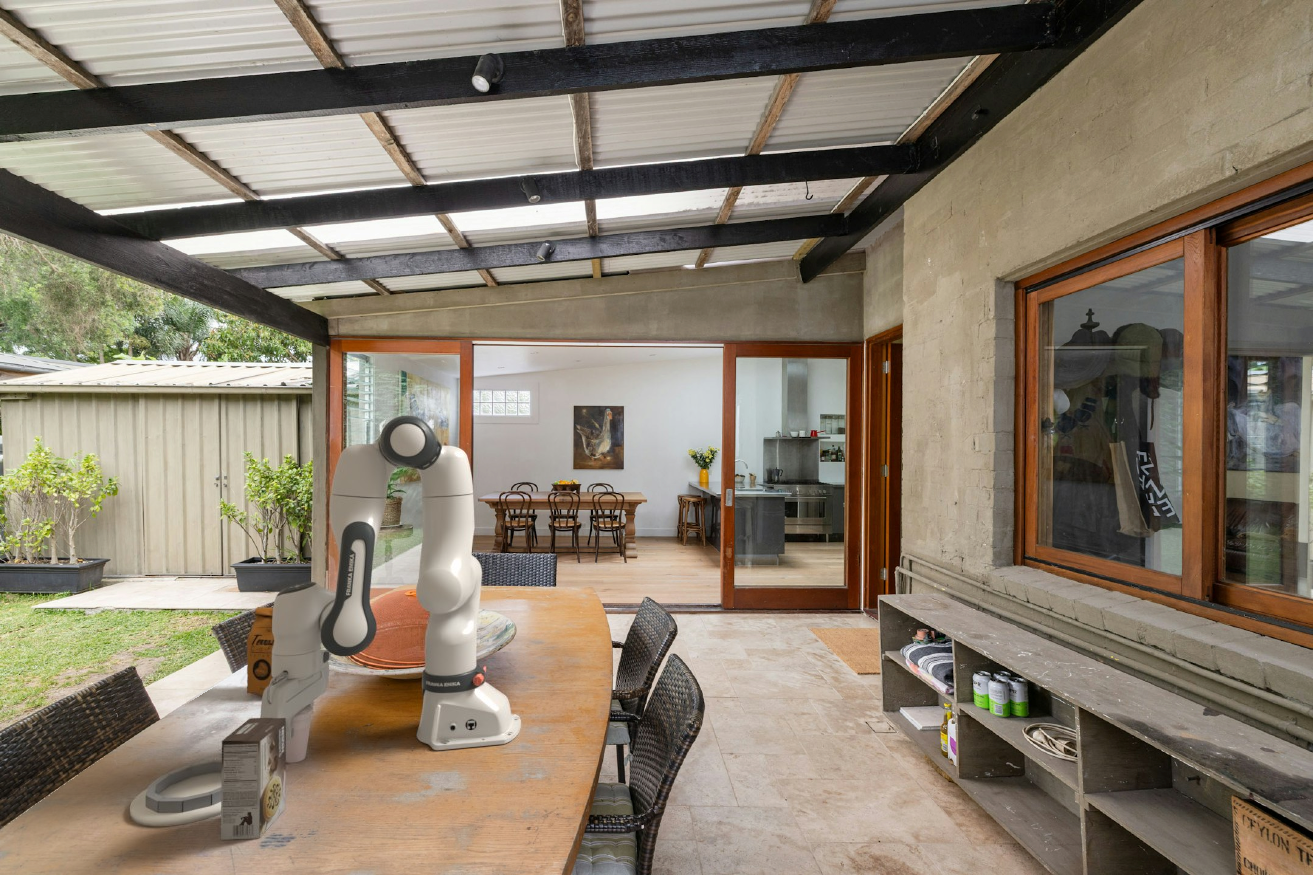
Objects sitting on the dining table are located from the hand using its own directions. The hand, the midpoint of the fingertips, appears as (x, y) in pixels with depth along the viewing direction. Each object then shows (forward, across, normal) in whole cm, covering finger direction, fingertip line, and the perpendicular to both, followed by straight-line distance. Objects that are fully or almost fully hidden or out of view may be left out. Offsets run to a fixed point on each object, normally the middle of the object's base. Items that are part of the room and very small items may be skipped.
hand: (295, 731), depth 134 cm
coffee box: (+6, -24, -5) cm, 25 cm away
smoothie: (+6, 0, 0) cm, 6 cm away
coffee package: (+6, +37, +24) cm, 44 cm away
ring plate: (+5, -14, +10) cm, 18 cm away
